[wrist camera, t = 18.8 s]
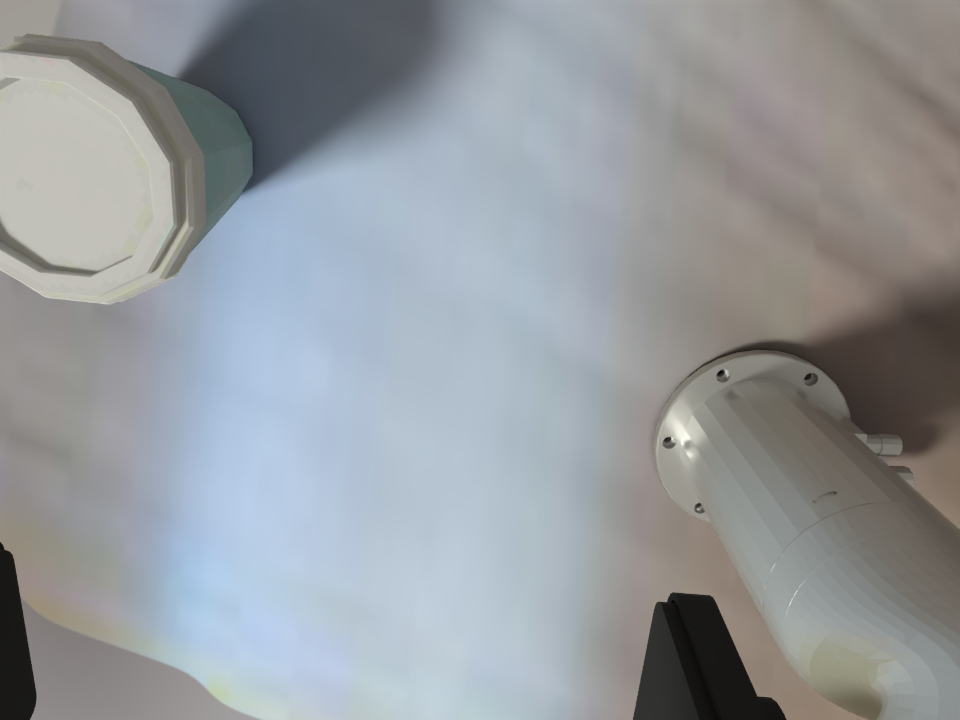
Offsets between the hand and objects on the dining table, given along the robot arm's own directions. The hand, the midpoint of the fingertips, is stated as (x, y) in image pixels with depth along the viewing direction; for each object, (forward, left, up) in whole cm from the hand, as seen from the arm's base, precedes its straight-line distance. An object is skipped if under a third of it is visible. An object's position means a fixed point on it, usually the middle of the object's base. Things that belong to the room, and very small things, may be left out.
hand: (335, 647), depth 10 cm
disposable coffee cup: (+14, -4, -35) cm, 38 cm away
